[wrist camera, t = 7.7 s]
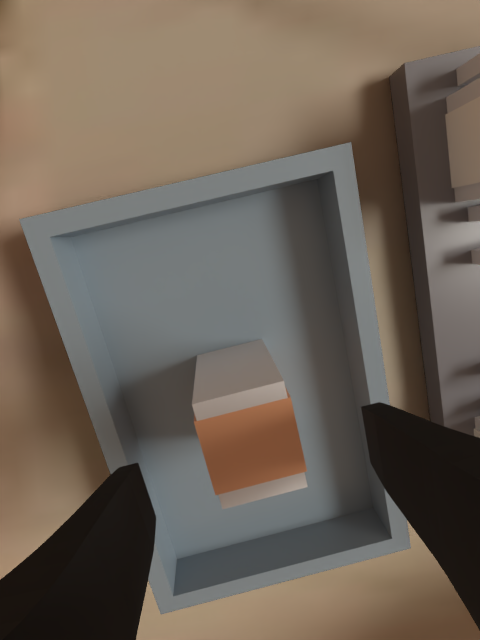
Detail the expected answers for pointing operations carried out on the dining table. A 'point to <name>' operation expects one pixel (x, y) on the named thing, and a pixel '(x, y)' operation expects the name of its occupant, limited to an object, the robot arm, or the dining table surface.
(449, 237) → the block
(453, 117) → the block
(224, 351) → the fuse marked
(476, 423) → the fuse
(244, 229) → the tray
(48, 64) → the dining table surface
